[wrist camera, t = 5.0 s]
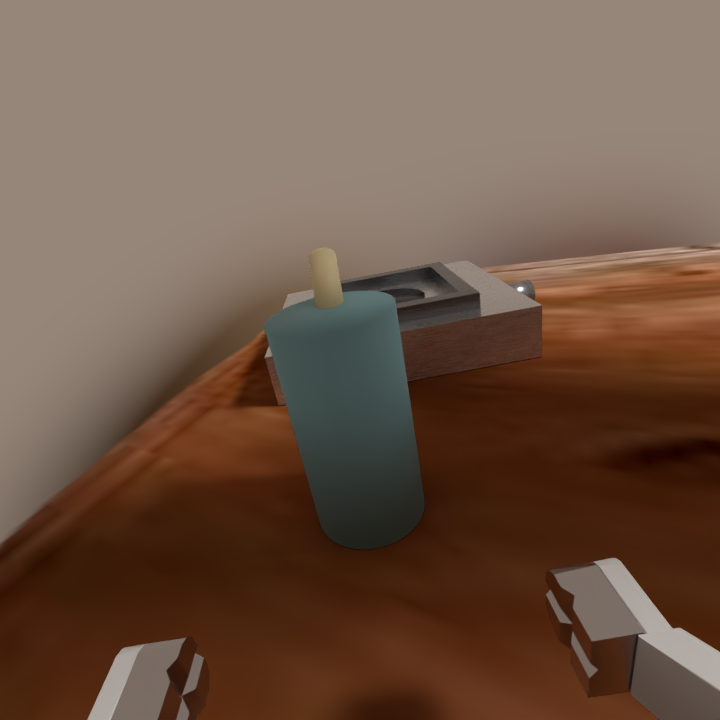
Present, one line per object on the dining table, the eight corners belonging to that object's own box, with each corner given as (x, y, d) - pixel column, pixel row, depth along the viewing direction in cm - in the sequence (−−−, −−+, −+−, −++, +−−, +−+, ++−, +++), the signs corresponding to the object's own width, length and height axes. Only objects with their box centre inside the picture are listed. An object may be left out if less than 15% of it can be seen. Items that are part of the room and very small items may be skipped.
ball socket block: (495, 290, 48) (493, 244, 46) (581, 348, 31) (584, 280, 29) (296, 327, 48) (285, 283, 46) (278, 405, 32) (259, 342, 29)
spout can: (412, 455, 23) (378, 234, 19) (436, 537, 18) (396, 256, 13) (320, 472, 24) (263, 256, 19) (317, 559, 18) (235, 287, 13)
